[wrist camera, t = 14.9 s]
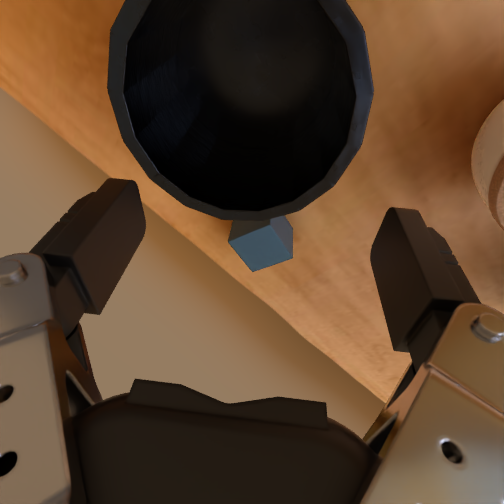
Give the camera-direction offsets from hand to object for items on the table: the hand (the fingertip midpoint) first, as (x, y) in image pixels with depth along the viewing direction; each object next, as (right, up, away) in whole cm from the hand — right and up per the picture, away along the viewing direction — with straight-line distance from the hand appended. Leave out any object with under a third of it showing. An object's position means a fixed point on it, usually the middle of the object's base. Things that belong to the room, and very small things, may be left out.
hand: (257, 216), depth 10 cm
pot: (0, +12, +12) cm, 17 cm away
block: (+1, +2, +21) cm, 21 cm away
